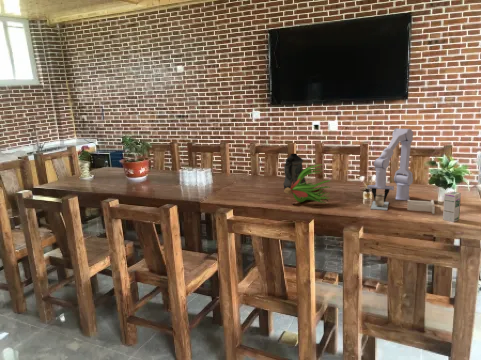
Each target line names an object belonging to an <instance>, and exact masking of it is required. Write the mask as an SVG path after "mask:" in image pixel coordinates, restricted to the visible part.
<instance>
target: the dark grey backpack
mask: <svg viewBox="0 0 481 360" xmlns="http://www.w3.org/2000/svg"><path fill="white" fill-rule="evenodd" d="M303 161H304V159H303V158H302V157H300V156H299V155H298V154H297V153H290V155H289V156H288V157H287V158H286V159H285V164H284V166H283V171H284V181H283V185H282V186H283V189H284V190H285V188H291V185H292V186H293V185H294V184H295V183H296V181H297V179H298V176H299V174H300V173H301V172H302V171H303V170H304V168H303ZM305 177H306V176H305ZM305 177H304V178H303V179H302V180H301V182H300V184H301V185H304V184H307V181H306V178H305ZM292 183H293V184H292ZM303 183H304V184H303Z"/></svg>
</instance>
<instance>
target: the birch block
mask: <svg viewBox="0 0 481 360" xmlns="http://www.w3.org/2000/svg"><path fill="white" fill-rule="evenodd" d="M384 197H385V193H376V197H375V199H374V201H375V205H378V206H384Z"/></svg>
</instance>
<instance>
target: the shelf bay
mask: <svg viewBox="0 0 481 360" xmlns="http://www.w3.org/2000/svg"><path fill="white" fill-rule="evenodd" d="M434 201H435V200H434V199H431V200H430V201H427V200H411V199H409V200H407V205H406V207H407V208H406V210H407V211H414V212H415V211H416V212H428V213H429V212H430V213H431V214H432V215H435V211H436V210H435V209H436V206H435V202H434Z"/></svg>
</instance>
